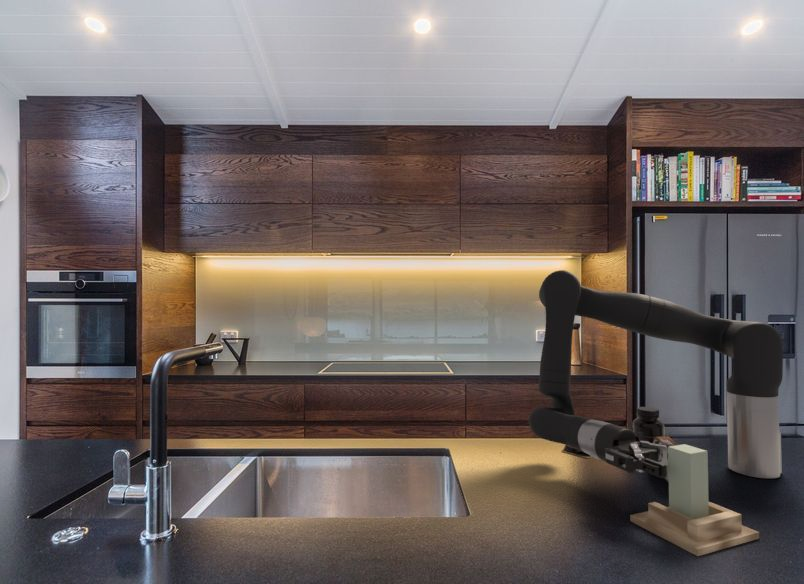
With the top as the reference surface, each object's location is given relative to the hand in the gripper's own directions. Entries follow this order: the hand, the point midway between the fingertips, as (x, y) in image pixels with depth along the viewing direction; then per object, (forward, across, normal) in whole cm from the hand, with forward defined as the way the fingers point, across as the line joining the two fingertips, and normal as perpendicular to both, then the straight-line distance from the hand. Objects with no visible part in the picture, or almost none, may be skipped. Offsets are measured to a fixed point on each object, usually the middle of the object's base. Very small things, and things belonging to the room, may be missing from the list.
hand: (683, 468), depth 78 cm
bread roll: (-38, +14, +10) cm, 41 cm away
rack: (+1, 0, +9) cm, 9 cm away
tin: (-15, +16, +10) cm, 24 cm away
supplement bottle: (-27, +24, +10) cm, 37 cm away
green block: (+1, 0, +8) cm, 8 cm away
